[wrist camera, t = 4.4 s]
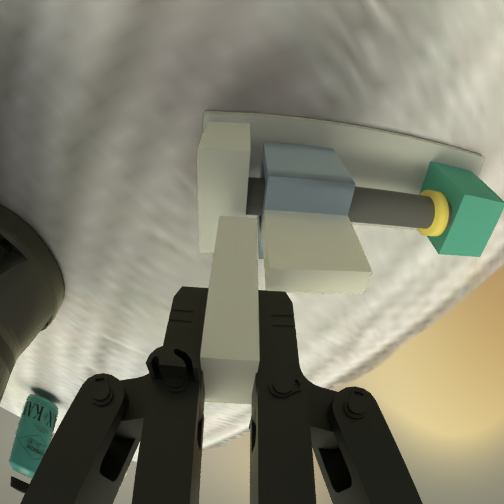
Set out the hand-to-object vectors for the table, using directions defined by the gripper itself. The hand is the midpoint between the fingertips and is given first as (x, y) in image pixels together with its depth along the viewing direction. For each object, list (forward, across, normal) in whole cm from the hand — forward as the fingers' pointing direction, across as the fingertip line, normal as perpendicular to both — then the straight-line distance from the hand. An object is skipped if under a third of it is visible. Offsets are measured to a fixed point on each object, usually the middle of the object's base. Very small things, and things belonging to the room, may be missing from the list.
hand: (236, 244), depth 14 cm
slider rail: (+8, +8, 0) cm, 11 cm away
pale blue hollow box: (+7, +3, 0) cm, 7 cm away
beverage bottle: (+8, -33, -42) cm, 54 cm away
